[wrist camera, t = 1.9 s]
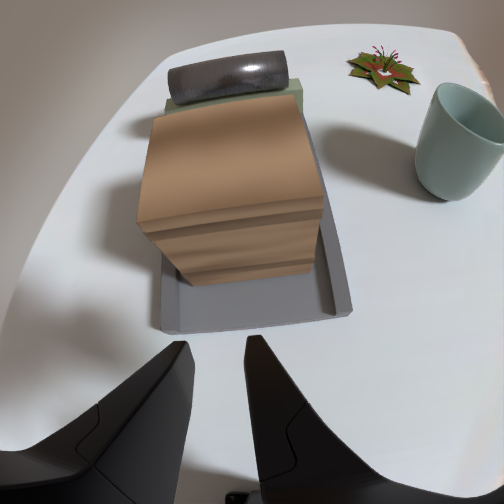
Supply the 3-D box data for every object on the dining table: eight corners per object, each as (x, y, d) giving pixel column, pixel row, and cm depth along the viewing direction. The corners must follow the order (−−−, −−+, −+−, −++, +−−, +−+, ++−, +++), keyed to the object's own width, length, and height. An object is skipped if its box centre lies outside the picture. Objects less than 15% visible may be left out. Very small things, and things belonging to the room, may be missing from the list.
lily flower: (422, 71, 35) (427, 49, 31) (419, 107, 31) (427, 81, 27) (353, 49, 38) (355, 27, 34) (335, 80, 34) (337, 53, 30)
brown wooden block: (312, 272, 22) (325, 195, 13) (192, 286, 23) (134, 222, 14) (296, 186, 26) (295, 94, 16) (193, 201, 26) (152, 118, 17)
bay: (348, 315, 21) (382, 276, 13) (169, 334, 22) (109, 306, 14) (297, 108, 32) (295, 43, 23) (180, 126, 33) (156, 66, 24)
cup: (402, 196, 25) (437, 119, 16) (408, 144, 28) (432, 72, 19) (468, 223, 23) (519, 160, 14) (467, 168, 26) (502, 105, 17)
